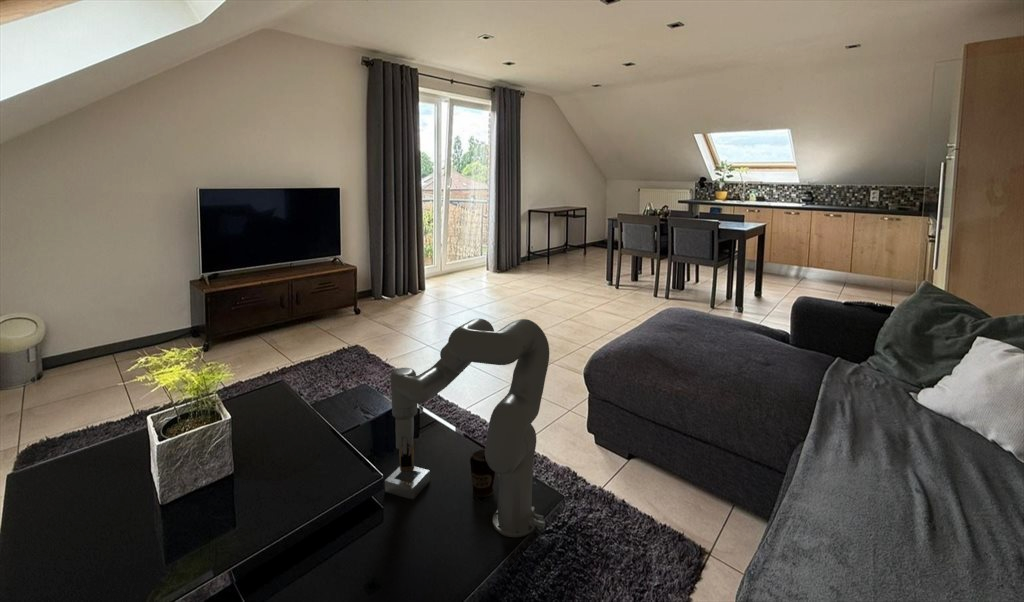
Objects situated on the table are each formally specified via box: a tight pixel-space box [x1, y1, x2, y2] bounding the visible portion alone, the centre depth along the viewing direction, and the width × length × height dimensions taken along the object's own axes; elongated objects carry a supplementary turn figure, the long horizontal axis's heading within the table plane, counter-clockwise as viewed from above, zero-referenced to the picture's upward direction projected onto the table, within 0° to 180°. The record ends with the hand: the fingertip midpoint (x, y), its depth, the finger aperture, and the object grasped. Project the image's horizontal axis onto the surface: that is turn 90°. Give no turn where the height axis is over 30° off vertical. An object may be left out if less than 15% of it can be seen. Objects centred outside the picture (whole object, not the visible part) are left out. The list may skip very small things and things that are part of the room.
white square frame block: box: [384, 465, 431, 501], centre depth 155 cm, size 10×10×4 cm
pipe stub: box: [398, 439, 415, 472], centre depth 152 cm, size 5×5×9 cm
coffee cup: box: [469, 449, 496, 498], centre depth 152 cm, size 9×8×13 cm
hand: (406, 460), depth 153 cm, fingers closed on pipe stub, 4 cm apart
